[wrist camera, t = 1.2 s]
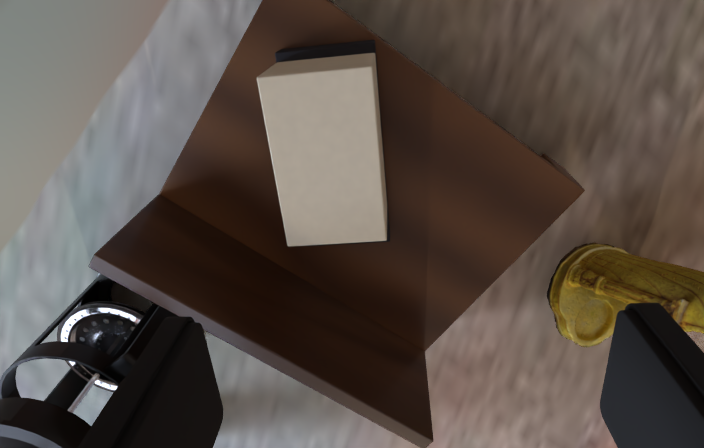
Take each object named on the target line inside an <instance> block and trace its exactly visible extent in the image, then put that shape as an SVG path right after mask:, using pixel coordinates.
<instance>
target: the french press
mask: <svg viewBox="0 0 704 448" xmlns="http://www.w3.org/2000/svg"><path fill="white" fill-rule="evenodd" d="M112 283H113V280H111V279H110V278H108V277H106V276H104V275H102V274H100V273H99V274H98V276H97V278H96V279H95V280H94V281H93V282H92V283H91V284H90V285H89V286H88V287H87V288H86V290H85V291H84V292H83V293H82V294H81V295H80V296H79V297H78V298H77V299H76V300H75V301H74V302H73V303H72V304H71V305H70V306H69V307H68V308H67V309H66V310H65V311H64V312H63V313H62V314H61V315H60V316H59V317H58V318H57V319H56V320H55V321H54V322H53V323H52V324H51V325H50V326H49V327H48V328H47V329H46V330H45V331H44V332H43V333H42V334H41V335H40V336H39V337H38V338H37V339H36V341H35V342H34V343H33V344H32V345H31V346H30V347H29V348H28V349H27V350H26V351H25V352H24V353H23V354H22V355H21V356H20V357H19V358H18V359H17V360H16V361H15V362H14V363H13V364H12V365H11V366H10V367H9V368H8V369H7V370H6V371H5V372H4V373H3V375H2V377H1V380H0V448H78V446H79V445H80V443H81V441H82V440H83V438H84V437H85V435H86V434H87V432H88V431H89V429H90V428H91V426H90V425H89V424H88V423H87V422H85V421H84V420H83V419H81V418H79V417H78V416H76V415H75V414H73V412H74V411H75V409H76V408H77V407H78V405H79V404H80V402H81V401H82V400H83V398H84V397H85V396H86V394H87V393H88V392H89V390H90V389H91V387H92V386H93V385H95V386H97V387H99V388H102V389H105V390H107V391H111V392H114V391H115V390H116V388H117V387H118V385H119V384H120V383H121V381H122V380H123V379H124V378H125V377H126V376H127V375H128V373H129V372H130V370H131V369H132V367H133V366H134V364H135V363H136V361H137V360H138V358H139V356H140V355H141V353H142V352H143V350H144V349H145V347H146V346H147V344H148V343H149V341H150V340H151V338H152V337H153V335H154V334H155V332H156V330H157V329H158V327H159V326H160V324H161V323H162V321H163V320H164V319H165V318H167V317H179V316H178V315H176V314H174V313H172V312H170V311H168V310H167V309H165V308H163V307H161V306H159V305H157V304H156V303H154V302H153V304H152V305H151V306H150V308H149V309H148V310H147V312H146V313H144V312H143V311H141V310H139V309H136V308H134V307H132V306H129V305H126V304H122V303H117V302H112V300H111V286H112ZM77 305H78V307H77V308H75V307H76V306H77ZM74 308H75V309H74ZM73 309H74V310H73ZM59 324H60V325H59ZM58 325H59V326H58ZM57 326H58V332H57V341H56V342H47V343H42V344H40V343H41V342H42V341H43V340H44V339H45V338H46V337H47V336H48V335H49V334H50V333H51V332H52V331H53V330H54V329H55V328H56V327H57ZM43 358H50V359H62V360H65V361H66V362H67V364H68V365H69V366H70V367H71V369H70V370H69V371H68V372H67V373H66V375H65V376H64V377H63V378H62V380H61V381H60V382H59V383H58V384H57V386H56V387H55V388H54V389H53V391H52V392H51V393H50V394H49V395H48V397H47V398H46V399H45V400H44V401H40V400H35V399H30V398H21V397H20V395H19V392H18V390H17V387H16V380H15V376H16V369H17V367H18V365H19V364H21V363H23V362H27V361H30V360H34V359H43Z"/></svg>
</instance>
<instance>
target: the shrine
mask: <svg viewBox="0 0 704 448" xmlns="http://www.w3.org/2000/svg"><path fill="white" fill-rule="evenodd" d="M547 299H548V301H549V305H550V307H551V309H552V311H553V312H554V316H555V322H556V328H557V329H558V331H559V333H560V334H561V335H562V336H563V337H565V338H566V339H569V340H573V341H574V343H575V344H579V346H581V347H590V346H594V345H598V344H600V343H601V342H602V341H604V340H606V339H607V338H609V337H610V336H611V335H612V334H613V332H614V327H615V322H616V317H617V313H618V312H619V311H620V310H625V307H626V306H627V304H630V303H659V304H661V305H662V306H663V307H664V308H665V310H666V311H667V312H668V313H669V314H670V315H671V316H672V318H673V319H674V320H675V321H676V322H677V323H678V324H679V325H680V327H681V328H682V329H683V330H684V331H686V332H691V331H696V332H702V333H703V334H704V272H701V271H698V270H693V269H690V268H686V267H682V266H678V265H674V264H670V263H664V262H658V261H655V260H650V259H647V258H642V257H639V256H635V255H632V254H629V253H627V252H626V251H625V250H623V249H621V248H615V247H614V246H611V245H608V244H597V243H590V244H584V245H581V246H578V247H575V248H574V249H573V250H572V251H570V252H569V253H568V254H567V255H565V256H564V257H563V258H562V259H561V261H560V263H559V264H558V266H557V268H556V270H555V273H554V274H553V276H552V278H551V281H550V284H549V288H548V291H547Z"/></svg>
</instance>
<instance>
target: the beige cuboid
mask: <svg viewBox="0 0 704 448" xmlns="http://www.w3.org/2000/svg"><path fill="white" fill-rule="evenodd" d="M275 58H276V63H275V64H274V65H273V66H271V67H270V68H269V69H267V70H266V71H265V72H263V73H262V74H261V75H259V76H258V77H257V83H258V88H259V94H260V99H261V105H262V110H263V115H264V121H265V126H266V132H267V137H268V143H269V148H270V153H271V159H272V164H273V170H274V175H275V181H276V186H277V191H278V197H279V202H280V208H281V213H282V219H283V224H284V229H285V235H286V240H287V245H288V246H306V245H307V246H325V245H342V244H359V243H376V242H389V241H390V224H389V211H388V199H387V186H386V173H385V160H384V148H383V135H382V122H381V109H380V97H379V84H378V71H377V58H376V46H375V40H365V41H355V42H345V43H336V44H326V45H316V46H307V47H297V48H287V49H280V50H279V51H277V52H276V53H275Z"/></svg>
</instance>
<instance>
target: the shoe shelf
mask: <svg viewBox="0 0 704 448" xmlns="http://www.w3.org/2000/svg"><path fill="white" fill-rule="evenodd" d="M365 40H375V46H376V58H377V71H378V84H379V97H380V109H381V122H382V135H383V148H384V160H385V173H386V186H387V199H388V211H389V224H390V241H389V242H376V243H359V244H342V245H325V246H307V245H306V246H288V245H287V240H286V235H285V229H284V224H283V219H282V213H281V208H280V202H279V197H278V191H277V186H276V181H275V175H274V170H273V164H272V159H271V153H270V148H269V143H268V137H267V132H266V126H265V121H264V115H263V110H262V105H261V99H260V94H259V88H258V83H257V77H258V76H259V75H261V74H262V73H263V72H265V71H266V70H267V69H269V68H270V67H271V66H273V65H274V64H275V63H276V58H275V53H276V52H277V51H279V50H280V49H287V48H297V47H307V46H316V45H326V44H336V43H345V42H355V41H365ZM584 191H585V190H584V189H583V188H582V186H580V184H579V183H578V182H577V181H576V180H575V179H574V178H573V177H572V176H571V175H570V174H569V173H568V172H567V170H566V169H565V168H564V167H562V166H561V165H559V164H558V163H557V162H555V161H554V160H553V159H551V158H550V157H549V156H547V155H546V154H544V153H543V154H542V155H541V156H540V155H538V154H537V153H536V152H534V151H533V150H532V149H530V148H529V147H528V146H526V145H525V144H524V143H522V142H521V141H519V140H518V139H517V138H515V137H514V136H513V135H511V134H510V133H509V132H507V131H506V130H505V129H503V128H502V127H500V126H499V125H498V124H496V123H495V122H494V121H492V120H491V119H490V118H488V117H487V116H486V115H484V114H483V113H482V112H480V111H479V110H477V109H476V108H475V107H473V106H472V105H471V104H469V103H468V102H467V101H465V100H464V99H463V98H461V97H460V96H458V95H457V94H456V93H454V92H453V91H452V90H450V89H449V88H448V87H446V86H445V85H444V84H442V83H441V82H440V81H438V80H437V79H435V78H434V77H433V76H431V75H430V74H429V73H427V72H426V71H425V70H423V69H422V68H421V67H419V66H418V65H416V64H415V63H414V62H412V61H411V60H410V59H408V58H407V57H406V56H404V55H403V54H402V53H400V52H399V51H398V50H396V49H395V48H393V47H392V46H391V45H389V44H388V43H387V42H385V41H384V40H383V39H381V38H380V37H379V36H377V35H376V34H375V33H373V32H372V31H370V30H369V29H368V28H366V27H365V26H364V25H362V24H361V23H360V22H358V21H357V20H356V19H354V18H353V17H351V16H350V15H349V14H347V13H346V12H345V11H343V10H342V9H341V8H339V7H338V6H337V5H335V4H334V3H333V2H331V1H330V0H262V2H261V4H260V6H259V8H258V10H257V12H256V13H255V15H254V17H253V19H252V21H251V23H250V25H249V26H248V28H247V30H246V32H245V34H244V36H243V38H242V40H241V41H240V43H239V45H238V47H237V49H236V51H235V53H234V55H233V56H232V58H231V60H230V62H229V64H228V66H227V68H226V70H225V71H224V73H223V75H222V77H221V79H220V81H219V83H218V85H217V86H216V88H215V90H214V92H213V94H212V96H211V98H210V100H209V101H208V103H207V105H206V107H205V109H204V111H203V113H202V115H201V116H200V118H199V120H198V122H197V124H196V126H195V128H194V130H193V131H192V133H191V135H190V137H189V139H188V141H187V143H186V145H185V146H184V148H183V150H182V152H181V154H180V156H179V158H178V160H177V161H176V163H175V165H174V167H173V169H172V171H171V173H170V175H169V176H168V178H167V180H166V182H165V184H164V186H163V188H162V190H161V191H160V193H159V195H157V196H156V197H155V198H154V199H153V200H152V201H151V202H150V203H149V204H148V205H147V206H146V207H145V208H143V209H142V210H141V211H140V212H139V213H138V214H137V215H136V216H135V217H134V218H133V219H132V220H131V221H130V222H128V223H127V224H126V225H125V226H124V227H123V228H122V229H121V230H120V231H119V232H118V233H117V234H116V235H115V236H113V237H112V238H111V239H110V240H109V241H108V242H107V243H106V244H105V245H104V246H103V247H102V248H101V249H100V250H98V251H97V252H96V253H95V254H94V256H93V258H92V260H91V262H90V264H89V268H91V269H93V270H95V271H97V272H99V273H100V274H102V275H104V276H106V277H108V278H110V279H111V280H113V281H115V282H117V283H119V284H121V285H122V286H124V287H126V288H128V289H130V290H132V291H133V292H135V293H137V294H139V295H141V296H143V297H145V298H146V299H148V300H150V301H152V302H154V303H156V304H157V305H159V306H161V307H163V308H165V309H167V310H168V311H170V312H172V313H174V314H176V315H178V316H179V317H186V316H190V317H192V318H193V319H194V321H195V322H199V323H200V324H201V325H202V328H203V330H205V331H207V332H209V333H211V334H213V335H214V336H216V337H218V338H220V339H222V340H224V341H225V342H227V343H229V344H231V345H233V346H235V347H236V348H238V349H240V350H242V351H244V352H246V353H247V354H249V355H251V356H253V357H255V358H257V359H258V360H260V361H262V362H264V363H266V364H268V365H269V366H271V367H273V368H275V369H277V370H279V371H281V372H282V373H284V374H286V375H288V376H290V377H292V378H293V379H295V380H297V381H299V382H301V383H303V384H304V385H306V386H308V387H310V388H312V389H314V390H315V391H317V392H319V393H321V394H323V395H325V396H326V397H328V398H330V399H332V400H334V401H336V402H337V403H339V404H341V405H343V406H345V407H347V408H349V409H350V410H352V411H354V412H356V413H358V414H360V415H361V416H363V417H365V418H367V419H369V420H371V421H372V422H374V423H376V424H378V425H380V426H382V427H383V428H385V429H387V430H389V431H391V432H393V433H394V434H396V435H398V436H400V437H402V438H404V439H405V440H407V441H409V442H411V443H413V444H415V445H417V446H418V447H420V448H426V447H427V446H428V445H429V444H431V443H432V442H433V431H432V421H431V411H430V400H429V390H428V380H427V369H426V359H425V351H426V350H427V349H428V348H429V347H430V346H431V345H432V344H433V343H434V342H435V341H436V340H437V339H438V338H439V337H440V336H441V335H442V334H443V333H444V332H445V331H446V330H447V329H448V328H449V327H450V326H451V324H452V323H453V322H454V321H455V320H456V319H457V318H458V317H459V316H460V315H461V314H462V313H463V312H464V311H465V310H466V309H467V308H468V307H469V306H470V305H471V304H472V303H473V302H474V301H475V300H476V299H477V298H478V297H479V296H480V295H481V294H482V293H483V292H484V291H485V290H486V289H487V288H488V287H489V286H490V285H491V284H492V283H493V282H494V281H495V280H496V279H497V278H498V277H499V276H500V275H501V274H502V273H503V272H504V271H505V270H506V269H507V268H508V267H509V266H510V265H511V264H512V263H513V262H514V261H515V260H516V259H517V258H518V257H519V256H520V255H521V254H522V253H523V252H524V251H525V250H526V249H527V248H528V247H529V246H530V245H531V244H532V243H533V242H534V241H535V240H536V239H537V238H538V237H539V236H540V235H541V234H542V233H543V232H544V231H545V230H546V229H547V228H548V227H549V226H550V225H551V224H552V223H553V222H554V221H555V220H556V219H557V218H558V217H559V216H560V215H561V214H562V213H563V212H564V211H565V210H566V209H567V208H568V207H569V206H570V205H571V204H572V203H573V202H574V201H575V200H576V199H577V198H578V197H579V196H580V195H581V194H582V193H583V192H584Z"/></svg>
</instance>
